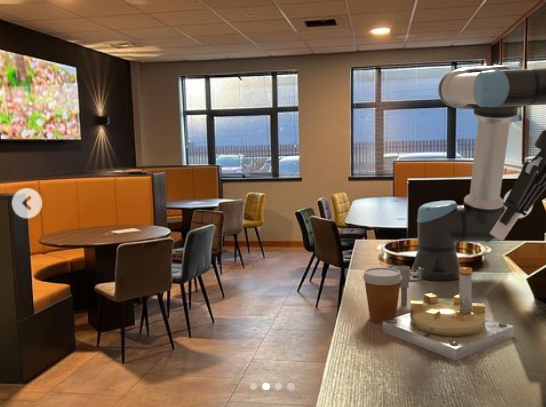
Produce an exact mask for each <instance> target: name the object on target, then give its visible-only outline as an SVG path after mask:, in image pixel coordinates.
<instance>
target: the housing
mask: <svg viewBox="0 0 546 407" xmlns="http://www.w3.org/2000/svg"><path fill="white" fill-rule="evenodd" d="M382 332H383V333H384V334H388V335H389V336H390V335H391V336H393V337H395V338H397V339H399V340H403V341H406V342H408V343H410V344H413V345H415V346H418V347H420V348H423V349H425V350H428V351H430V352H432V353H436V354H438V355H440V356H443V357H445V358H448V359H451V360H452V361H455V362H456V361H458V360H461V359H463V358H466V357H468V356H471V355H473V354H477V353H479V352H481V351H483V350H486V349H488V348H490V347H492V346H495V345H498V344H500V343H502V342H505V341H507V340H509V339H513V338H515V326H514V325H512V324H509V323H505V322H502V321H498V320H495V319H492V318H490V317H486V316H485V328H484V330H482V331H481V332H479V333H476V334H471V335H463V336H449V335H439V334H434V333H429V332H426V331H423V330H420V329H418V328H416V327H415V326H413V325H412V323H411V322H410V312H409V313H404V314H402V315H399V316H396V317H395V318H392V319H389V320H385V321H383V323H382Z"/></svg>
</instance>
